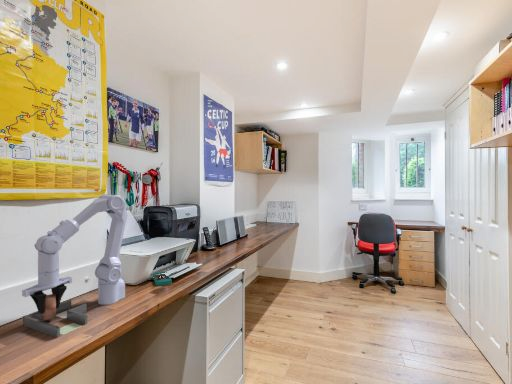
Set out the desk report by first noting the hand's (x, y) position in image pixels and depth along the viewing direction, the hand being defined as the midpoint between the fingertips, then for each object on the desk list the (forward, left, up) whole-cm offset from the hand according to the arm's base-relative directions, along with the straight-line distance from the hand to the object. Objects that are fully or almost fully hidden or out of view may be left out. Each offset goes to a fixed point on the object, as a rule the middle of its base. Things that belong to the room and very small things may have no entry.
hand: (48, 310), depth 94 cm
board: (-3, +6, -5) cm, 8 cm away
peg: (0, 0, -2) cm, 2 cm away
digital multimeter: (-50, +3, -6) cm, 51 cm away
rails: (-2, +4, -4) cm, 6 cm away
